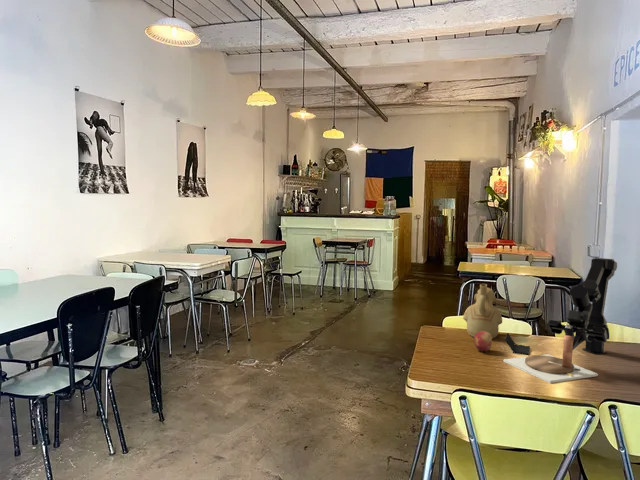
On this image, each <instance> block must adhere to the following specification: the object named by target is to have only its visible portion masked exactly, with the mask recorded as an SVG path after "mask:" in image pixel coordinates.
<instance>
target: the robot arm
mask: <svg viewBox="0 0 640 480" xmlns="http://www.w3.org/2000/svg"><path fill="white" fill-rule="evenodd" d="M617 268H618V262H617V261H615V259H614V258H603V257H594V258H591V262H590V268H589V269H588V273H587V274H586V278H585V279H584V281H582V282H580V283H577V285H576V286H573V287H572V288H571V289H569V295H570V299H571V302H572V305H573V310H572V309H571V310H570V309H568V310H566V311H567V312H566V317H565V320H566V322H567V323H565V324H562V321H561V320H557V319H551V318H550V319H549V320H548V321H547V323H546V325H547V327H548V330H549V332H550V333H551V334H555V335H560V334H563V331H564V336H565V335H567V336H572V337H573V351H574V350H575V349H576V348H577V347H578V346H579V345H580V344H582V343H583V342H585V345H584V347H583V348H581V349H582V350H583V351H586V352H589V353H590V354H591V353H592V354H594V355H600V354H607V353H608V351H606V350H604V348H605V343H607V341H608V340H610V330H609V326H608V324H607V323H608V321H607V319H606V316H605V315H604V313H605V307H606V306H605V305H606V301H607V292H608V285H609V281H610V280H611V279H612V278H613V277H614V276H615V273H616V272H615V271H617Z"/></svg>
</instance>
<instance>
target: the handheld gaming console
mask: <svg viewBox="0 0 640 480" xmlns="http://www.w3.org/2000/svg"><path fill="white" fill-rule="evenodd" d="M504 341H505V343H506V344H507V345H508V347H509V348H510V350H511V351H512V354H514V355H515V354H517V355H524V356H530V355H529V354H530V348H531V346H530V345H523V344H518V343H516V342H515V341H514V339H513V338H512V337H511V335H510V334H509V333H508V332H507V333H505V337H504Z"/></svg>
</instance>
